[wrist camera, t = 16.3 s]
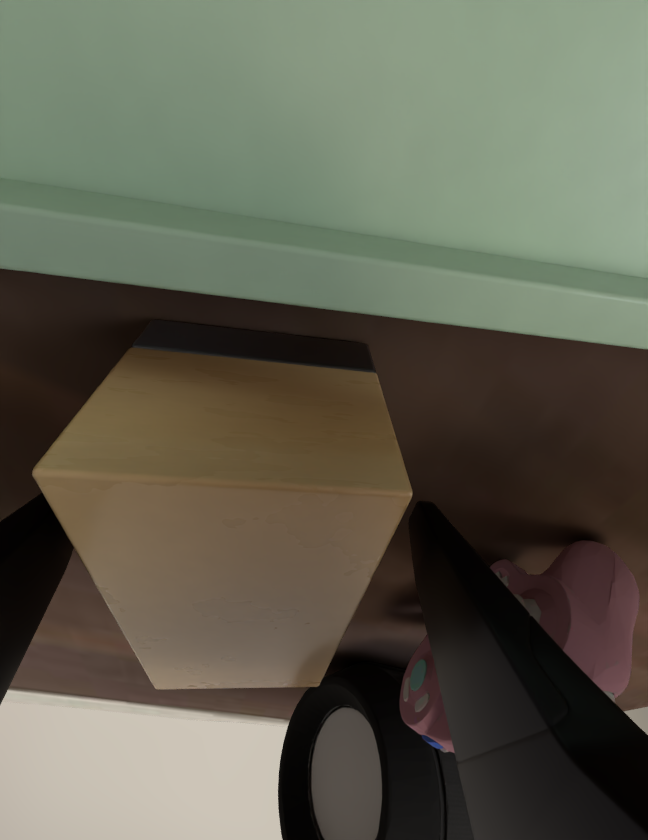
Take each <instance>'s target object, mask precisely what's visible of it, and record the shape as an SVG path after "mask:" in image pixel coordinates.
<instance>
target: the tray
mask: <svg viewBox="0 0 648 840" xmlns="http://www.w3.org/2000/svg"><path fill="white" fill-rule="evenodd" d="M0 268H2V269H10V270H18V271H26V272H34V273H42V274H50V275H58V276H66V277H74V278H82V279H90V280H98V281H106V282H114V283H122V284H130V285H137V286H145V287H153V288H161V289H169V290H177V291H185V292H193V293H201V294H209V295H217V296H225V297H233V298H241V299H249V300H257V301H265V302H273V303H281V304H289V305H297V306H305V307H313V308H321V309H329V310H337V311H345V312H353V313H361V314H369V315H377V316H385V317H393V318H401V319H408V320H416V321H424V322H432V323H440V324H448V325H456V326H464V327H472V328H480V329H488V330H496V331H504V332H512V333H520V334H528V335H536V336H544V337H552V338H560V339H568V340H576V341H584V342H592V343H600V344H608V345H616V346H624V347H632V348H640V349H648V0H0Z"/></svg>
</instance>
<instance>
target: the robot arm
mask: <svg viewBox="0 0 648 840" xmlns="http://www.w3.org/2000/svg"><path fill="white" fill-rule="evenodd" d="M408 525H409V534H410V543H411V551H412V560H413V569H414V576H415V581H416V586H417V590H418V595H419V599H420V603H421V608H422V612H423V617H424V621H425V625H426V630H427V634H428V638H429V643H430V647H431V652H432V656H433V660H434V665H435V669H436V674H437V678H438V682H439V687H440V691H441V696H442V700H443V704H444V709H445V713H446V718H447V722H448V726H449V731H450V735H451V740H452V744H453V748H454V753H455V757H456V761H457V767H458V771H459V776H460V780H461V784H462V789H463V793H464V797H465V802H466V806H467V811H468V815H469V819H470V824H471V828H472V833H473V837H474V840H648V735H647V734H646V733H645V732H644V731H643V730H642V729H640V728H639V727H638V726H637V725H636V724H635V723H634V722H633V721H632V720H631V719H630V718H629V717H628V716H627V715H626V714H625V713H624V712H623V711H622V710H621V709H620V708H619V707H618V706H617V705H616V704H615V703H614V702H613V701H612V700H611V699H610V698H609V697H608V696H607V695H606V694H605V693H604V692H603V691H602V690H601V689H600V688H599V687H598V686H597V685H596V684H595V683H594V682H593V681H592V680H591V679H590V678H589V677H588V676H587V675H586V674H585V673H584V672H583V670H582V669H581V668H580V667H579V666H578V665H577V664H576V663H575V662H574V661H573V660H572V659H571V658H570V657H569V656H568V655H567V654H566V653H565V652H564V651H563V650H562V649H561V648H560V646H559V645H558V644H557V643H556V642H555V641H554V640H553V639H552V638H551V637H550V635H549V634H548V633H547V632H546V631H545V630H544V629H543V628H542V626H541V625H540V624H539V623H538V622H537V621H536V620H535V618H534V617H533V616H530V613H529V612H528V611H527V609H526V608H525V607H524V606H523V605H522V604H521V603H520V601H519V600H518V599H517V598H516V597H515V596H514V595H513V593H512V592H511V591H510V590H509V589H508V588H507V587H506V585H505V584H504V583H503V582H502V581H501V580H500V579H499V577H498V576H497V575H496V574H495V573H494V572H493V571H492V569H491V568H490V567H489V566H488V565H487V564H486V562H485V561H484V560H483V559H482V558H481V557H480V556H479V554H478V553H477V552H476V551H475V550H474V549H473V548H472V546H471V545H470V544H469V543H468V542H467V541H466V540H465V538H464V537H463V536H462V535H461V534H460V533H459V532H458V530H457V529H456V528H455V527H454V526H453V525H452V524H451V522H450V521H449V520H448V519H447V518H446V517H445V516H444V514H443V513H442V512H441V511H440V510H439V509H438V508H437V506H436V505H435V504H434V503H432V502H427V501H419V502H417V504H416V505H415V507H414V509H413V511H412V513H411V515H410V517H409V522H408ZM73 549H74V547H73V545H72V543H71V542H70V540H69V538H68V536H67V535H66V533H65V531H64V529H63V528H62V526H61V524H60V522H59V521H58V519H57V517H56V515H55V514H54V512H53V510H52V509H51V507H50V505H49V503H48V502H47V500H46V498H45V496H44V495H43V493H41V494H40V495H38V496H37V497H35V498H34V499H32V500H31V501H29V502H28V503H27V504H25V505H24V506H22V507H21V508H19V509H18V510H16V511H15V512H14V513H12V514H11V515H9V516H8V517H6V518H5V519H3V520H2V521H1V522H0V704H1V702H2V700H3V698H4V696H5V694H6V692H7V690H8V688H9V686H10V684H11V682H12V680H13V678H14V676H15V673H16V671H17V669H18V667H19V665H20V663H21V661H22V659H23V657H24V655H25V653H26V651H27V649H28V647H29V645H30V642H31V640H32V638H33V636H34V634H35V632H36V630H37V628H38V626H39V624H40V622H41V620H42V618H43V616H44V614H45V612H46V609H47V607H48V605H49V603H50V601H51V599H52V597H53V595H54V593H55V591H56V589H57V587H58V585H59V583H60V581H61V579H62V576H63V574H64V572H65V570H66V568H67V565H68V562H69V560H70V557H71V554H72V551H73Z"/></svg>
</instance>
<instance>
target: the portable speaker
mask: <svg viewBox="0 0 648 840" xmlns="http://www.w3.org/2000/svg"><path fill="white" fill-rule="evenodd" d="M405 671H406V670H403V669H399V668H395V667H391V666H387V665H382V664H377V663H371V662H361V663H358V664H355V665H352V666H350V667H347V668H345V669H343V670H341V671H339V672H336V673H334V674H331V675H329V676H326V677H324V678H323V679H322V681H321V683H320V685H319V686H317V687H310V688H309V689H308V690H307V691H306V692H305V693H304V695H303V696H302V698H301V699H300V701H299V703H298V704H297V706H296V708H295V710H294V713H293V715H292V717H291V720H290V722H289V725H288V729H287V732H286V736H285V740H284V744H283V749H282V754H281V760H280V770H279V784H278V785H279V786H278V802H279V817H280V826H281V834H282V838H283V840H474V837H473V833H472V828H471V824H470V819H469V815H468V811H467V806H466V802H465V797H464V793H463V789H462V784H461V780H460V776H459V771H458V767H457V761H456V757H455V753H453V752H450V751H449V752H445V753H444V752H443V751H441V750H440V749H437V748H435V747H433V746H432V745H430V744H429V743H427V742H426V741H425V740H424V739H423V738H422V735H420V734H419V733H417V732H416V731H415V730H413V729H412V728H411V727H409V726H408V725H407V724H406V723H405V722H404V721H403V719H402V717H401V713H400V692H401V687H402V682H403V677H404V674H405Z"/></svg>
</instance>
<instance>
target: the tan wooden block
mask: <svg viewBox="0 0 648 840" xmlns="http://www.w3.org/2000/svg"><path fill="white" fill-rule="evenodd" d="M32 476H33V477H34V479H35V481H36V483H37V484H38V486H39V488H40V489H41V491H42V493H43V495H44V496H45V498H46V500H47V502H48V503H49V505H50V507H51V509H52V510H53V512H54V514H55V515H56V517H57V519H58V521H59V522H60V524H61V526H62V528H63V529H64V531H65V533H66V535H67V536H68V538H69V540H70V542H71V543H72V545H73V547H74V548H75V550H76V552H77V554H78V555H79V557H80V559H81V561H82V562H83V564H84V566H85V568H86V569H87V571H88V573H89V574H90V576H91V578H92V580H93V581H94V583H95V585H96V587H97V588H98V590H99V592H100V594H101V595H102V597H103V599H104V600H105V602H106V604H107V606H108V607H109V609H110V611H111V613H112V614H113V616H114V618H115V620H116V621H117V623H118V625H119V627H120V628H121V630H122V632H123V633H124V635H125V637H126V639H127V640H128V642H129V644H130V646H131V647H132V649H133V651H134V653H135V654H136V656H137V658H138V659H139V661H140V663H141V665H142V666H143V668H144V670H145V672H146V673H147V675H148V677H149V679H150V680H151V682H152V684H153V685H154V687H155V689H209V688H269V687H317V686H319V685H320V683H321V681H322V679H323V677H324V675H325V673H326V670H327V668H328V666H329V664H330V662H331V660H332V658H333V656H334V654H335V652H336V650H337V648H338V646H339V644H340V642H341V640H342V638H343V636H344V634H345V632H346V630H347V628H348V626H349V624H350V622H351V620H352V618H353V616H354V614H355V612H356V610H357V608H358V606H359V604H360V602H361V599H362V597H363V595H364V593H365V591H366V589H367V587H368V585H369V583H370V581H371V579H372V577H373V575H374V573H375V571H376V569H377V567H378V565H379V563H380V561H381V559H382V557H383V555H384V553H385V551H386V549H387V547H388V545H389V543H390V541H391V539H392V537H393V535H394V533H395V530H396V528H397V526H398V524H399V522H400V520H401V518H402V516H403V514H404V512H405V510H406V508H407V506H408V504H409V502H410V500H411V498H412V494H413V493H412V488H411V485H410V482H409V478H408V475H407V472H406V468H405V465H404V462H403V459H402V455H401V452H400V449H399V445H398V442H397V439H396V435H395V432H394V429H393V426H392V422H391V419H390V416H389V412H388V409H387V406H386V402H385V399H384V396H383V393H382V389H381V386H380V383H379V379H378V376H377V374H376V370H375V367H374V363H373V360H372V357H371V353H370V350H369V347H368V345H367V344H363V343H355V342H346V341H337V340H329V339H320V338H311V337H303V336H294V335H285V334H277V333H268V332H259V331H251V330H242V329H233V328H225V327H216V326H207V325H199V324H190V323H181V322H173V321H164V320H151V321H150V323H149V324H148V325H147V326H146V328H145V329H144V330H143V331H142V333H141V334H140V335H139V337H138V338H137V339H136V340H135V342H134V343H133V344H132V348H129V349H128V350H127V351H126V353H125V354H124V355H123V356H122V358H121V359H120V360H119V361H118V363H117V364H116V365H115V366H114V368H113V369H112V370H111V371H110V373H109V374H108V375H107V376H106V378H105V379H104V380H103V381H102V383H101V384H100V385H99V386H98V388H97V389H96V390H95V391H94V393H93V394H92V395H91V397H90V398H89V399H88V400H87V402H86V403H85V404H84V405H83V407H82V408H81V409H80V410H79V412H78V413H77V414H76V415H75V417H74V418H73V419H72V420H71V422H70V423H69V424H68V425H67V427H66V428H65V429H64V430H63V432H62V433H61V434H60V435H59V437H58V438H57V439H56V440H55V442H54V443H53V444H52V445H51V447H50V448H49V449H48V451H47V452H46V453H45V454H44V456H43V457H42V458H41V459H40V461H39V462H38V463H37V464H36V466H35V467H34V468H33V472H32Z"/></svg>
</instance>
